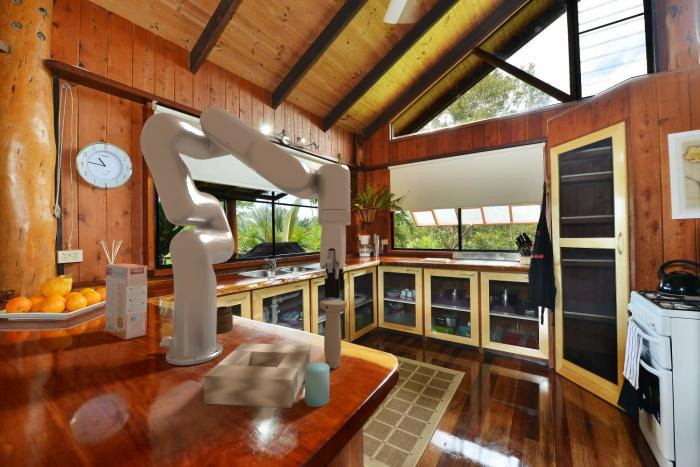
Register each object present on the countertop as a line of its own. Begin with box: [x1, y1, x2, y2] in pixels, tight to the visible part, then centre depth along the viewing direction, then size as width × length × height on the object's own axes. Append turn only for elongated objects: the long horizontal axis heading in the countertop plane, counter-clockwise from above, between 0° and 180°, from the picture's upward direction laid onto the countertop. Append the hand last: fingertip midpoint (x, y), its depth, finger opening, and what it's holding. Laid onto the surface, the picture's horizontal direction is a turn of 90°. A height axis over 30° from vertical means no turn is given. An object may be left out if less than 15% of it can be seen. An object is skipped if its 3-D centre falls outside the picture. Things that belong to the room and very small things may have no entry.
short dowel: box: [304, 361, 330, 408], centre depth 55 cm, size 4×4×6 cm
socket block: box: [203, 342, 311, 409], centre depth 61 cm, size 16×16×5 cm
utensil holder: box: [216, 295, 234, 334], centre depth 94 cm, size 6×6×12 cm
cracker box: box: [104, 262, 149, 341], centre depth 90 cm, size 14×6×21 cm, turn 58°
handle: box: [319, 298, 347, 370], centre depth 69 cm, size 5×6×15 cm
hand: (335, 292), depth 69 cm, fingers open, 9 cm apart
